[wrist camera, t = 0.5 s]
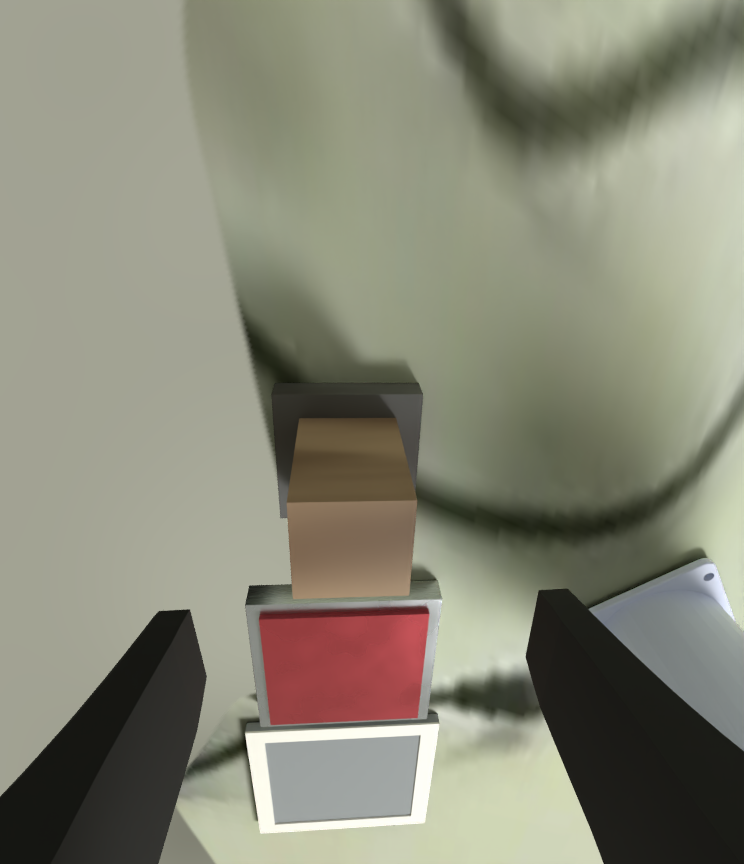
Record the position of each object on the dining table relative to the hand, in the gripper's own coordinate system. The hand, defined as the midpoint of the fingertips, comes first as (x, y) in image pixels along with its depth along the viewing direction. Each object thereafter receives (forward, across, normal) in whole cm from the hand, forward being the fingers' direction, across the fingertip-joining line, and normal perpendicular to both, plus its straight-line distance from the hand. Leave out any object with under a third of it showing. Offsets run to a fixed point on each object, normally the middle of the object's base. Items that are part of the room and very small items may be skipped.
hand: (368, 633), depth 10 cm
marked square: (+10, +1, +25) cm, 27 cm away
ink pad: (+10, +1, +13) cm, 17 cm away
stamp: (+10, 0, +1) cm, 10 cm away
